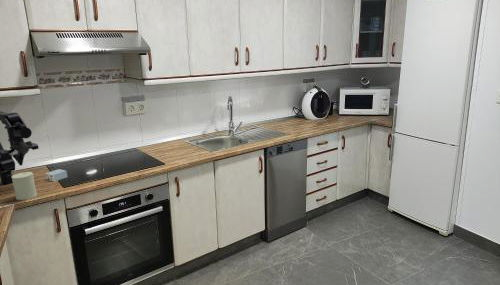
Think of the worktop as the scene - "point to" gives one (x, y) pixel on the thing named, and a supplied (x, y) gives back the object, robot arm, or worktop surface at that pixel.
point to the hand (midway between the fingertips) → (21, 165)
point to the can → (24, 185)
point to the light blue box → (56, 175)
